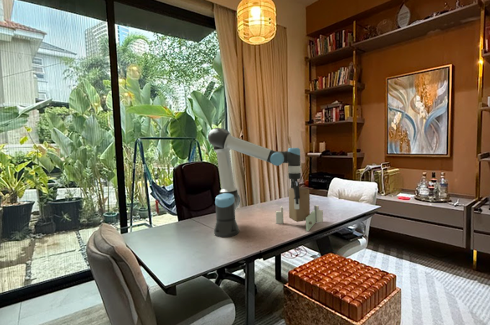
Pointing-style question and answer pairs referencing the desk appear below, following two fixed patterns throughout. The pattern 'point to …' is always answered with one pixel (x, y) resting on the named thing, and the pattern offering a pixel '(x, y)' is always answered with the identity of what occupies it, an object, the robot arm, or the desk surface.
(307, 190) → the wooden block
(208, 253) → the desk surface
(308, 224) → the door
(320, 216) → the l-shaped block
